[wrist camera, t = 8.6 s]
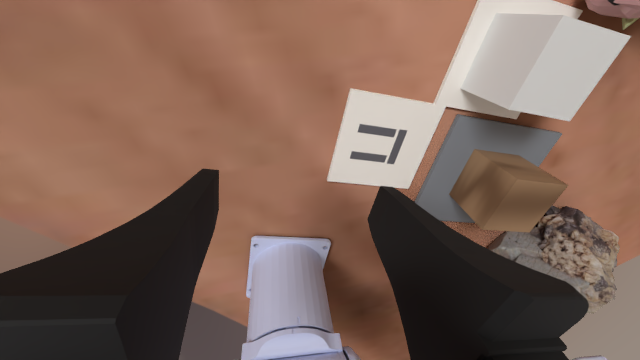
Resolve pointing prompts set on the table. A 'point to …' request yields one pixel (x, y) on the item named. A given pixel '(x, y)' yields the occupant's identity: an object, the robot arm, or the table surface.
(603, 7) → the figurine
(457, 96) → the code tile
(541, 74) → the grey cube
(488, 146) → the slate mat
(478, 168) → the walnut cube
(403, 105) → the code tile
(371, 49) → the table surface
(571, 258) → the rock
